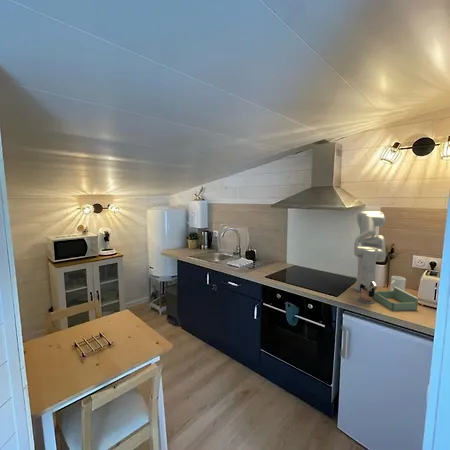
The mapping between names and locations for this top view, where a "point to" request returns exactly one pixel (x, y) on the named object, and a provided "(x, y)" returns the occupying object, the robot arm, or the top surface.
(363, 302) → the slate pad
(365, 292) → the pot
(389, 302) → the tray
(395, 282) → the mug
